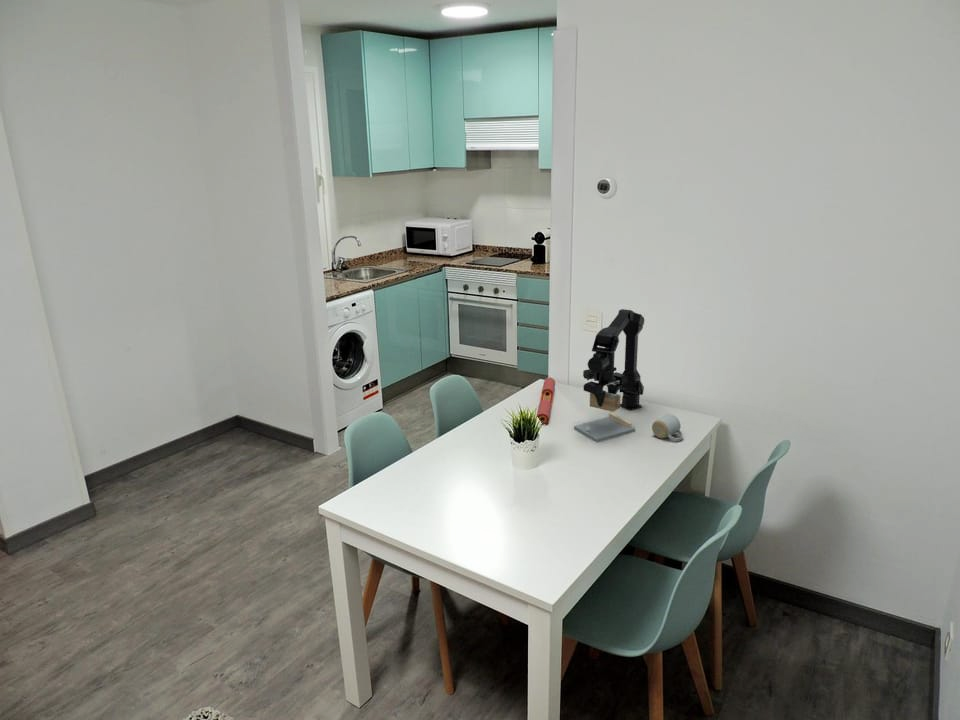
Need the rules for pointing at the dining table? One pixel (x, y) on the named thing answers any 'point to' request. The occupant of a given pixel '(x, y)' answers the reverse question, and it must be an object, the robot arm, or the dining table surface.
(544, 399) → the blood vessel
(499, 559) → the dining table surface
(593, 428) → the grey flat panel
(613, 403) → the frame
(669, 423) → the ceramic mug
